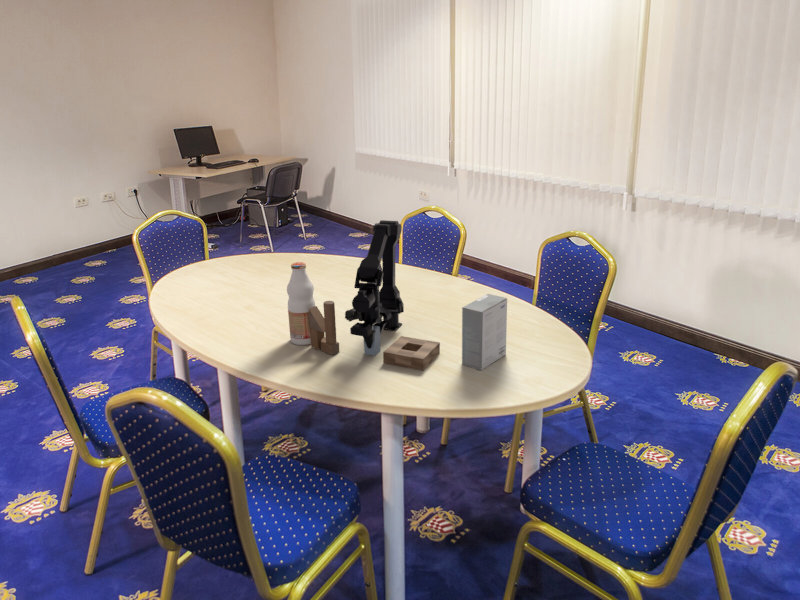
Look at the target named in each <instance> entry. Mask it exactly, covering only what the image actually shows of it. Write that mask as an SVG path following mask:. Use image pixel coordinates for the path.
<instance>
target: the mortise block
mask: <svg viewBox="0 0 800 600" xmlns="http://www.w3.org/2000/svg"><path fill="white" fill-rule="evenodd" d="M440 346H441V343H440V342H439V341H435V340H434V341H433V340H428V339H420V338H415V337H410V336H404V335H401V336H399V337H397V339H395V341H393V342H392V344H390V345H389V346H388V347H386V349H385V350H384V351H382V357H383V358H382V359H383V360H382V361H383V362H382V363H383V364H385V365H391V366H395V367H400V368H401V367H402V368H407V369H413V370H417V371H425V370H426V368H428V367H429V366H430V364H431V363H433V361H434V360H435V359H436V358H437V357H438V356H439V355H440V352H441V350H440Z"/></svg>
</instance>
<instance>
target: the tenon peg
mask: <svg viewBox="0 0 800 600" xmlns="http://www.w3.org/2000/svg"><path fill="white" fill-rule="evenodd" d="M373 330H375V331H376V333H375V336H374V340H373V343H372V346H371V348H367V345H366V343H365V340H364V339H363V350H364V353H363V354H364V355H369V356H373V357H376V356H377V355H378V354H379V353H381V335H380V326H373Z"/></svg>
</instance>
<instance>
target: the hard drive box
mask: <svg viewBox="0 0 800 600" xmlns="http://www.w3.org/2000/svg"><path fill="white" fill-rule="evenodd" d="M461 316H462V317H461V364H462V365H461V366H465V367H468V368H471V369H474V370H475V369H476V370H479V371H482V370H484V369H486V368H487V367H488V366H490V365H492V364H493V363H495V362H496V361H497V360H499V359H502V357H504V356H505V355H507V326H508V325H507V324H508V323H507V322H508V321H507V320H508V318H507V317H508V298H507V297H504V296H500V295H497V294H496V295H495V294H491V293H486V294H484V295H482V296H481V297H479V298H477V299H475V300H474V301H472V302H470V303H468V304H466V305H464V306H462V307H461Z"/></svg>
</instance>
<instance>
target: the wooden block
mask: <svg viewBox="0 0 800 600" xmlns="http://www.w3.org/2000/svg"><path fill="white" fill-rule="evenodd" d="M322 306H323V314H322V312H321V311H320V309H319V307H318V306H317V305H315V307H312V308H309V323H310V336H311V344H310V346H311V348H313V349H316V350H320V349H321V350H320V351H321V352H323V353H326V354H329V355H331V356H333V355H335V354H338V353H340V342H338V341H337V328H336V327H337V325H336V324H337V323H336V309H335V302H334V300H326V301H325V300H324V301H323V305H322Z"/></svg>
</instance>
